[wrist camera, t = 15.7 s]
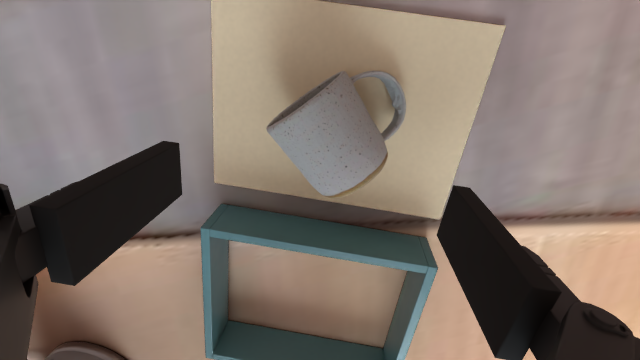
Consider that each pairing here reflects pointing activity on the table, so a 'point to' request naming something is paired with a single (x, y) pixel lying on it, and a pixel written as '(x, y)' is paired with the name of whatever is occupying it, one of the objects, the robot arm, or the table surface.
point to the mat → (354, 58)
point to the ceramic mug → (337, 134)
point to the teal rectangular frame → (318, 239)
